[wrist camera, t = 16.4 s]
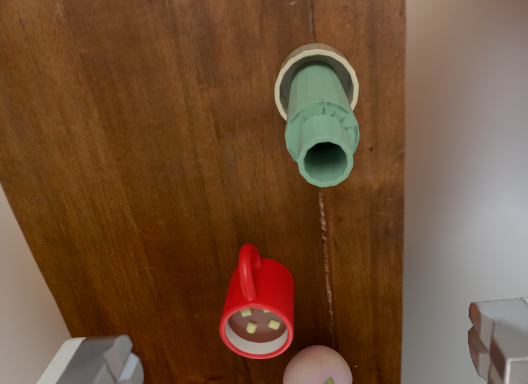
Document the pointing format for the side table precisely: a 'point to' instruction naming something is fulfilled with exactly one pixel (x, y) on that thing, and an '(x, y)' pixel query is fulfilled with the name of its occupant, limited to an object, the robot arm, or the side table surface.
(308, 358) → the decorative fruit
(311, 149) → the bottle
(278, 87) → the holder
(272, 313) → the mug
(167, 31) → the side table surface
